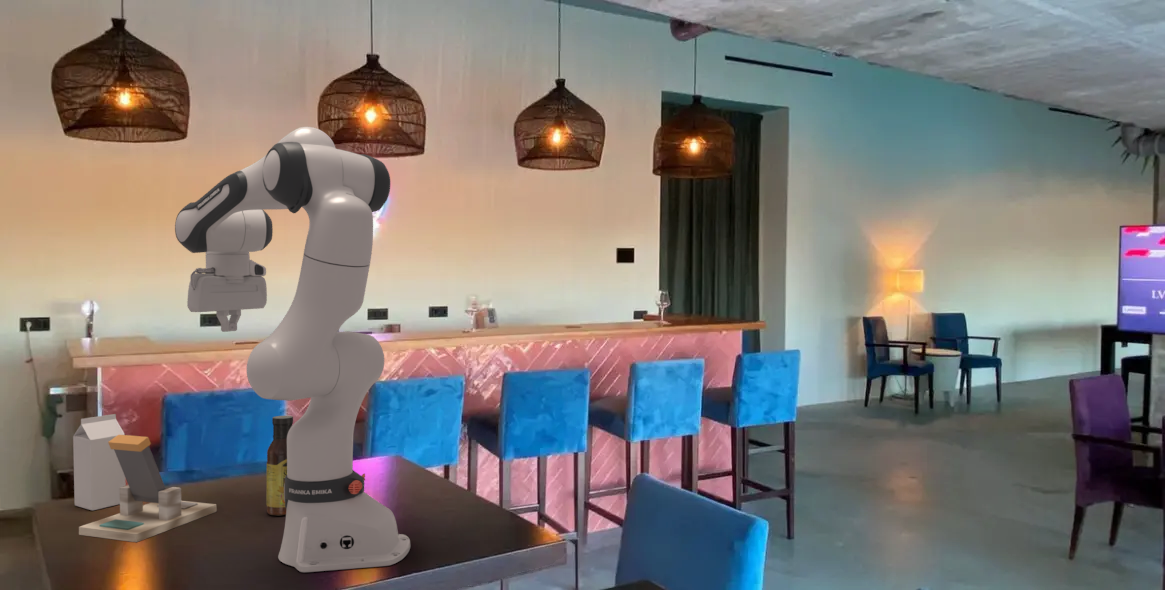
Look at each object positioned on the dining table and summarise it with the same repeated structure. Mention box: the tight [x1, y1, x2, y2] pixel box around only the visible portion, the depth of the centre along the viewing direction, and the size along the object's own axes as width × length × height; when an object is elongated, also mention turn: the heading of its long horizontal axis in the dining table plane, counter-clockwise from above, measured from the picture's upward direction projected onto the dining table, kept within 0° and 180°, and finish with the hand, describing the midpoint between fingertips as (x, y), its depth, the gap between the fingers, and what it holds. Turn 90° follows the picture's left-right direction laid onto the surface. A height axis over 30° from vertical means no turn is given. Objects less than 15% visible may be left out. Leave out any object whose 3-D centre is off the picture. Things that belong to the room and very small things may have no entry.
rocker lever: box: [108, 434, 167, 503], centre depth 159 cm, size 3×7×14 cm, turn 72°
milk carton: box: [72, 413, 127, 511], centre depth 174 cm, size 7×7×19 cm
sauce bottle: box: [265, 415, 294, 517], centre depth 168 cm, size 7×6×20 cm
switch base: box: [78, 484, 218, 543], centre depth 162 cm, size 20×14×7 cm
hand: (229, 331), depth 178 cm, fingers closed
